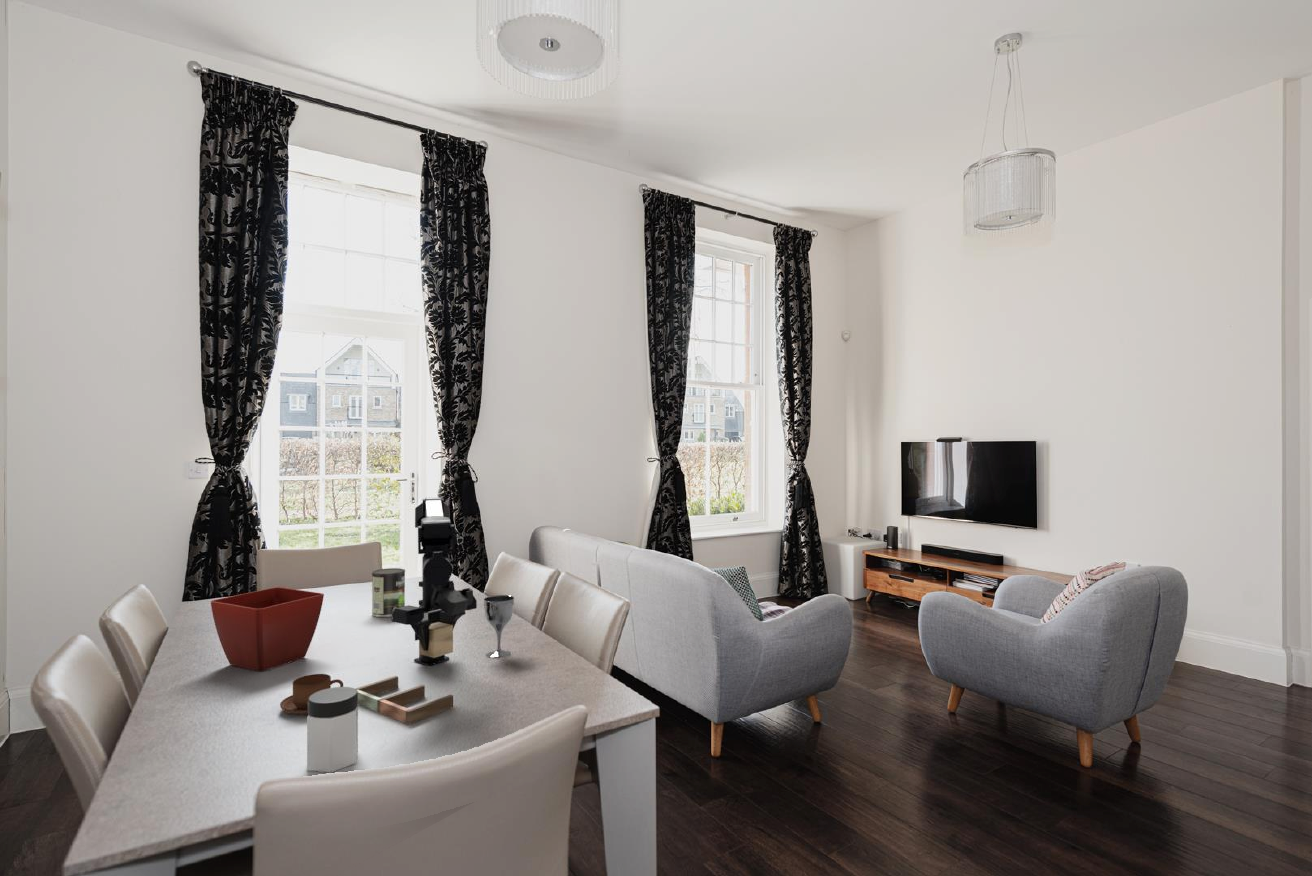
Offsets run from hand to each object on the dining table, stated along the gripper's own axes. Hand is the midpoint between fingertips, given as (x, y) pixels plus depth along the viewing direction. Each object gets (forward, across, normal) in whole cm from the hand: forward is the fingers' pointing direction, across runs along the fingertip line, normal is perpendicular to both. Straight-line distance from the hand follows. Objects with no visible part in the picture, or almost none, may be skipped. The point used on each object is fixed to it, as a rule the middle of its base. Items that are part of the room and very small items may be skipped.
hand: (436, 647), depth 151 cm
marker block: (+1, 0, 0) cm, 1 cm away
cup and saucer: (+12, -18, +19) cm, 28 cm away
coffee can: (+10, +40, +76) cm, 86 cm away
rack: (+12, -6, +4) cm, 14 cm away
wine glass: (+11, +30, +13) cm, 35 cm away
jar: (+12, -29, -9) cm, 33 cm away
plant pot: (+11, -8, +58) cm, 59 cm away
